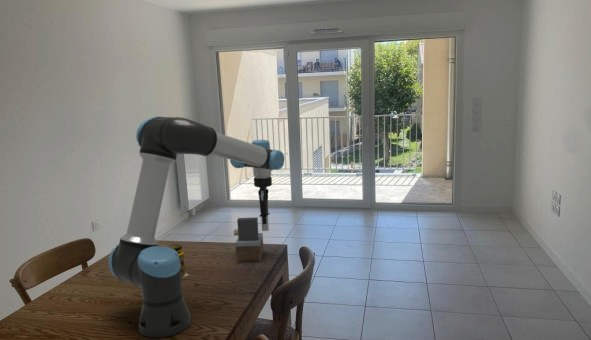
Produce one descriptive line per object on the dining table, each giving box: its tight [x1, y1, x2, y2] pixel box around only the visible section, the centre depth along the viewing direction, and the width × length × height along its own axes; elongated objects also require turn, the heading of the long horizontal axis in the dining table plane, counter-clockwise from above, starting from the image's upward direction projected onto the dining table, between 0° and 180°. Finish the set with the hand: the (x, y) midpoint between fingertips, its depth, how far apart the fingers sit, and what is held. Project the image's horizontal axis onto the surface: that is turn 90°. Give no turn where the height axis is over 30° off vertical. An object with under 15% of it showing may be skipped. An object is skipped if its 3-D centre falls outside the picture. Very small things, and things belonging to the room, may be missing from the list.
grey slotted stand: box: [234, 217, 264, 248], centre depth 184 cm, size 12×10×11 cm
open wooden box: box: [235, 236, 264, 264], centre depth 185 cm, size 12×10×7 cm
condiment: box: [168, 243, 190, 279], centre depth 168 cm, size 7×8×12 cm
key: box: [233, 228, 238, 236], centre depth 188 cm, size 2×8×2 cm, turn 88°
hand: (265, 230), depth 188 cm, fingers closed
